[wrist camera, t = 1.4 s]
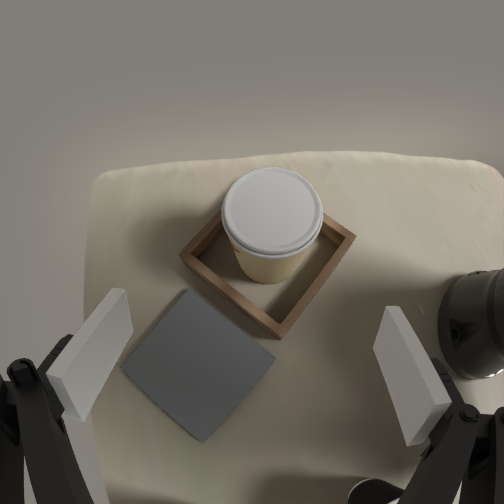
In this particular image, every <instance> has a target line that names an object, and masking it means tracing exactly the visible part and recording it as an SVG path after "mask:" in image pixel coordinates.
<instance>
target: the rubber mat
mask: <svg viewBox="0 0 504 504" xmlns="http://www.w3.org/2000/svg"><path fill="white" fill-rule="evenodd" d="M275 360H276V358H275V357H273V356H272V355H271V354H269V353H268V352H267V351H266V350H264V349H263V348H262V347H260V346H259V345H258V344H257V343H255V342H254V341H253V340H252V339H250V338H249V337H248V336H247V335H245V334H244V333H243V332H242V331H240V330H239V329H238V328H237V327H235V326H234V325H233V324H232V323H230V322H229V321H228V320H227V319H225V318H224V317H223V316H222V315H221V314H219V313H218V312H217V311H216V310H215V309H213V308H212V307H211V306H210V305H209V304H207V303H206V302H205V301H204V300H203V299H201V298H200V297H199V296H198V295H197V294H196V293H194V292H193V291H192V290H191V289H190V288H189V289H188V290H187V291H186V292H185V293H184V294H183V296H182V297H181V298H180V299H179V300H178V301H177V302H176V303H175V305H174V306H173V307H172V308H171V309H170V310H169V311H168V313H167V314H166V315H165V316H164V317H163V318H162V320H161V321H160V322H159V323H158V324H157V325H156V326H155V328H154V329H153V330H152V331H151V332H150V333H149V335H148V336H147V337H146V338H145V339H144V340H143V341H142V343H141V344H140V345H139V346H138V347H137V348H136V350H135V351H134V352H133V353H132V354H131V355H130V357H129V358H128V359H127V360H126V361H125V362H124V364H123V365H122V366H121V367H120V368H121V369H122V370H123V371H124V372H125V373H126V374H127V375H128V376H129V377H130V378H131V379H132V380H133V381H134V382H135V383H136V384H137V385H138V386H139V387H140V388H141V389H142V390H143V391H144V392H145V393H146V394H147V395H148V396H149V397H150V398H151V399H152V400H153V401H154V402H155V403H156V404H157V405H159V406H160V407H161V408H162V409H163V410H164V411H165V412H166V413H167V414H168V415H170V416H171V417H172V418H173V419H174V420H175V421H176V422H177V423H179V424H180V425H181V426H182V427H183V428H184V429H186V430H187V431H188V432H189V433H190V434H192V435H193V436H194V437H195V438H197V439H198V440H199V441H200V442H202V443H203V442H204V441H205V440H206V439H207V438H208V437H209V436H210V435H211V433H212V432H213V431H214V430H215V429H216V428H217V427H218V426H219V425H220V424H221V423H222V422H223V420H224V419H225V418H226V417H227V416H228V415H229V414H230V413H231V412H232V410H233V409H234V408H235V407H236V406H237V405H238V404H239V403H240V401H241V400H242V399H243V398H244V397H245V396H246V394H247V393H248V392H249V391H250V390H251V389H252V388H253V386H254V385H255V384H256V383H257V382H258V380H259V379H260V378H261V377H262V376H263V374H264V373H265V372H266V371H267V370H268V368H269V367H270V366H271V365H272V364H273V362H274V361H275Z"/></svg>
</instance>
